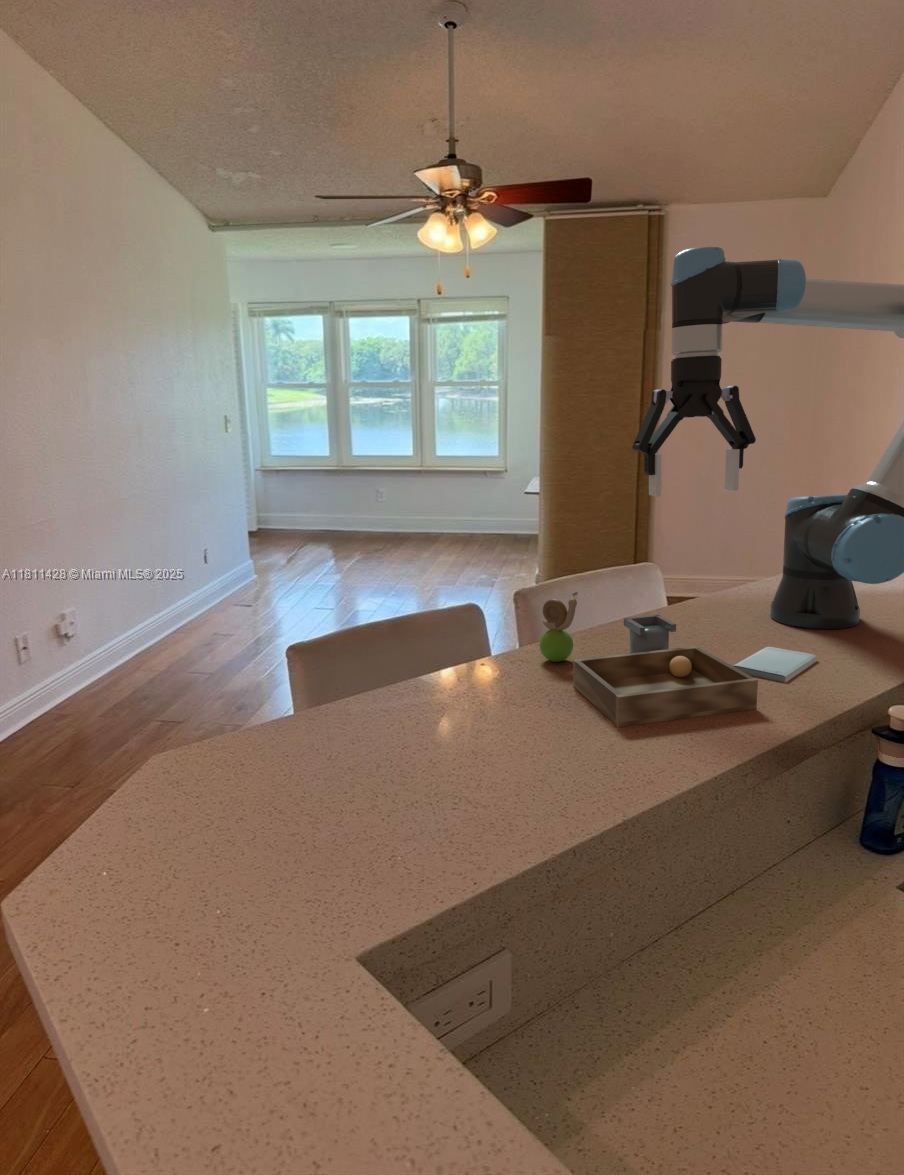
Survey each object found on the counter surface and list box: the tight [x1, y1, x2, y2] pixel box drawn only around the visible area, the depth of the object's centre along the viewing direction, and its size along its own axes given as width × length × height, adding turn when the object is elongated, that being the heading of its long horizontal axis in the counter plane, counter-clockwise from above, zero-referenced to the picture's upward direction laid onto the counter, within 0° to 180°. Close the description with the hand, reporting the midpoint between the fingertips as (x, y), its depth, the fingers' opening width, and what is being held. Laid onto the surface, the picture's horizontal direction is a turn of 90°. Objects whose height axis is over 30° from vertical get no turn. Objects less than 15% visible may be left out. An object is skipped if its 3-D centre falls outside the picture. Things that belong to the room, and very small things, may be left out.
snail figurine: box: [539, 591, 578, 663], centre depth 128 cm, size 5×6×12 cm
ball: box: [669, 656, 692, 677], centre depth 118 cm, size 3×3×3 cm
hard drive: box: [732, 646, 818, 684], centre depth 123 cm, size 2×8×12 cm
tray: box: [572, 645, 759, 728], centre depth 112 cm, size 20×16×4 cm
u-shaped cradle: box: [623, 613, 677, 654], centre depth 125 cm, size 6×6×7 cm
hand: (693, 492), depth 128 cm, fingers open, 13 cm apart
